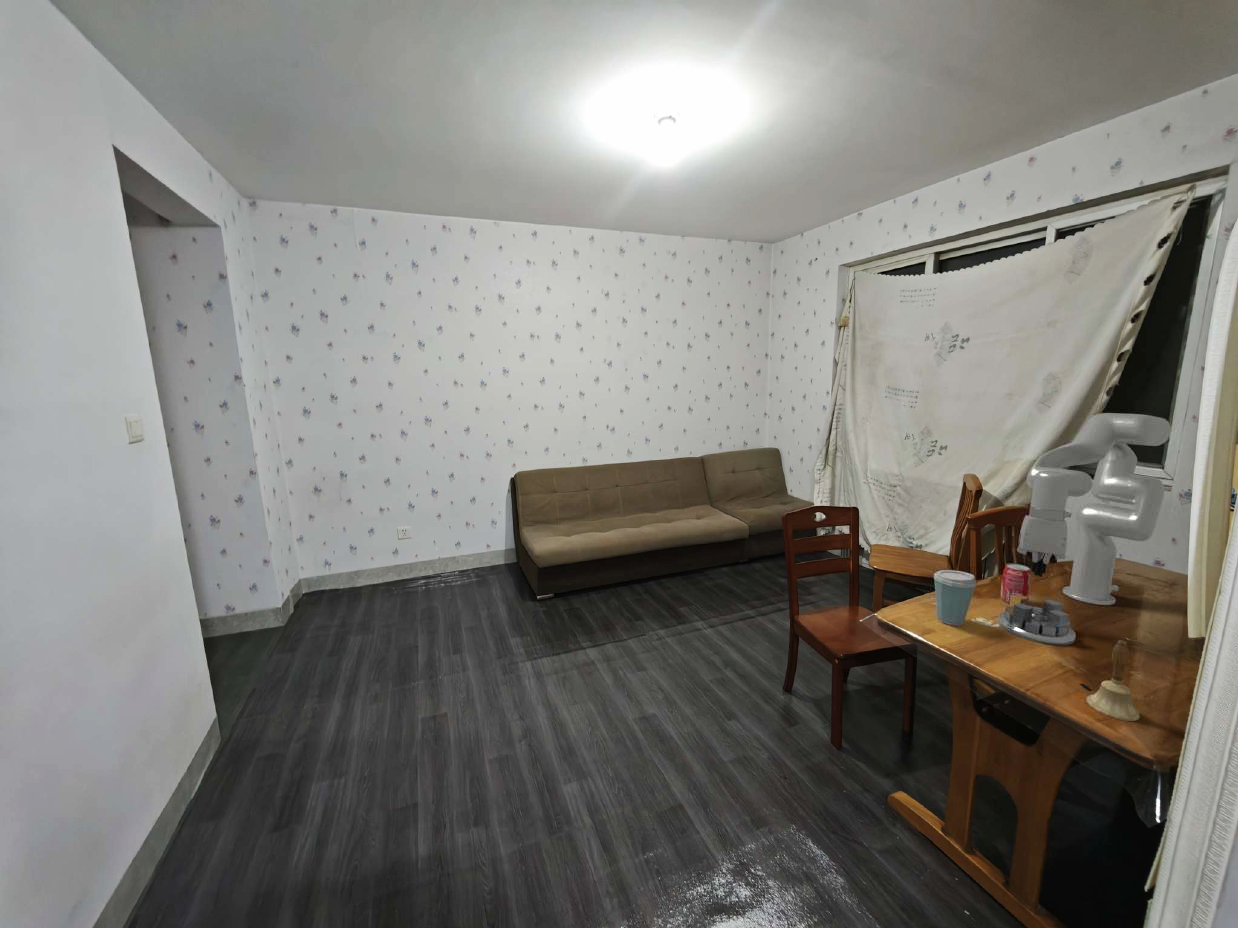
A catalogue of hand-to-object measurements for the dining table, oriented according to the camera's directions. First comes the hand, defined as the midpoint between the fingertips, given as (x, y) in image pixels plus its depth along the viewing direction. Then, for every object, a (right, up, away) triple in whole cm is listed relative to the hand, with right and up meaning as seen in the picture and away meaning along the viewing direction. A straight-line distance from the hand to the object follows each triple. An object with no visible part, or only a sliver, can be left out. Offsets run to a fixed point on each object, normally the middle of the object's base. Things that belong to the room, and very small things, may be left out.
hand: (1037, 574), depth 142 cm
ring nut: (-2, -14, -2) cm, 14 cm away
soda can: (+6, -13, +16) cm, 21 cm away
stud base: (-2, -16, -2) cm, 16 cm away
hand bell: (-14, -22, -36) cm, 44 cm away
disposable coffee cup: (-23, -15, +4) cm, 28 cm away
